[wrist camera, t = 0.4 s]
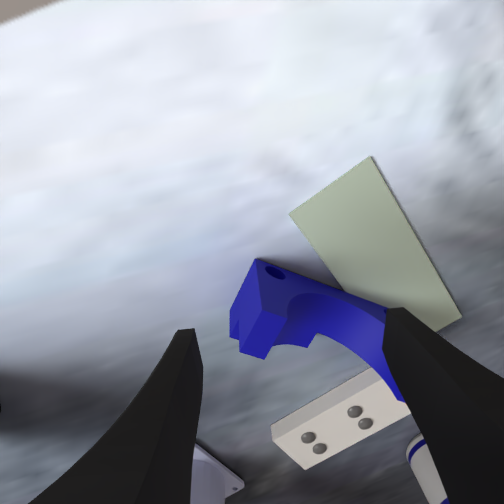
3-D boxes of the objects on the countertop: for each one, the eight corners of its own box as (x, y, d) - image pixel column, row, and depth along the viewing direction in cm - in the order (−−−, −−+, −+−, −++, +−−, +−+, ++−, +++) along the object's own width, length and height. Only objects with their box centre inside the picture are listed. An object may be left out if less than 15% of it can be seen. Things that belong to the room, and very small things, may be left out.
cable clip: (229, 310, 25) (229, 371, 20) (255, 258, 24) (262, 309, 18) (370, 356, 28) (403, 422, 23) (401, 313, 26) (446, 372, 21)
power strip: (301, 454, 32) (306, 476, 31) (270, 425, 31) (273, 447, 29) (439, 378, 30) (453, 398, 28) (414, 342, 28) (428, 360, 26)
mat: (392, 354, 28) (393, 356, 28) (288, 213, 23) (288, 214, 23) (460, 315, 27) (462, 316, 27) (369, 156, 22) (370, 156, 21)
